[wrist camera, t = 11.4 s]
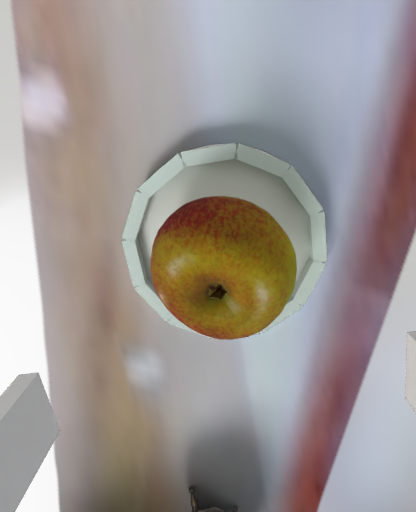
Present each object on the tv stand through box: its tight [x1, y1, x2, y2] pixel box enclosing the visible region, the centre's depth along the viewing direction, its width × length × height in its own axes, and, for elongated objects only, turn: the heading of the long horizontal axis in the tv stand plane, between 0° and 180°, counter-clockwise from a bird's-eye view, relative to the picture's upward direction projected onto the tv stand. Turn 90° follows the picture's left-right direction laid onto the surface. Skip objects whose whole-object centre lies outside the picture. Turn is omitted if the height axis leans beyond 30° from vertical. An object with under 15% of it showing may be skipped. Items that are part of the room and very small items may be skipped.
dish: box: [121, 143, 327, 339], centre depth 26 cm, size 15×15×2 cm
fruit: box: [150, 196, 297, 339], centre depth 23 cm, size 10×9×8 cm
